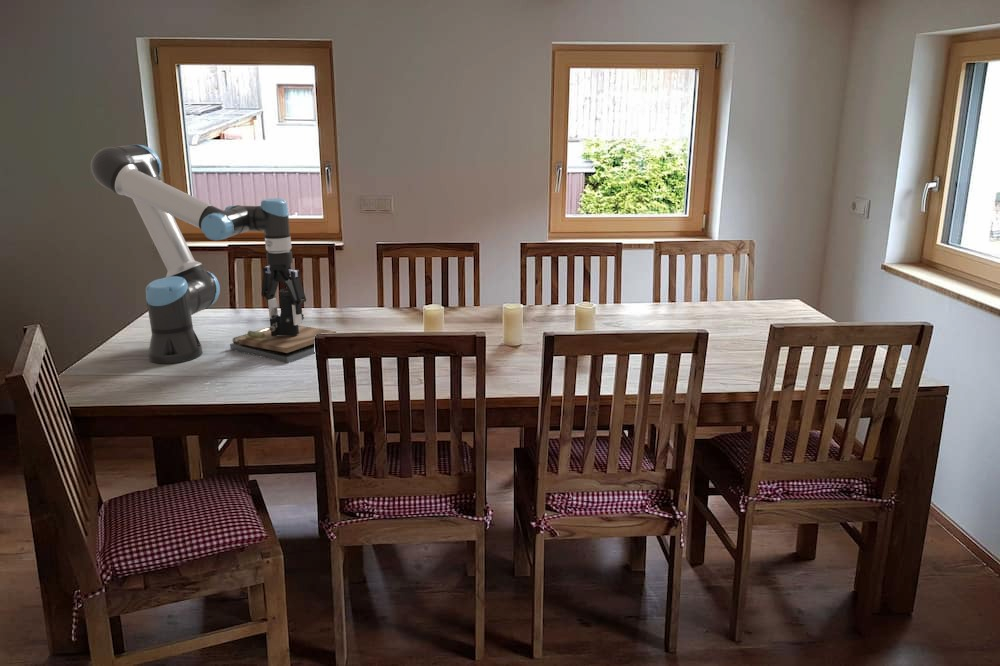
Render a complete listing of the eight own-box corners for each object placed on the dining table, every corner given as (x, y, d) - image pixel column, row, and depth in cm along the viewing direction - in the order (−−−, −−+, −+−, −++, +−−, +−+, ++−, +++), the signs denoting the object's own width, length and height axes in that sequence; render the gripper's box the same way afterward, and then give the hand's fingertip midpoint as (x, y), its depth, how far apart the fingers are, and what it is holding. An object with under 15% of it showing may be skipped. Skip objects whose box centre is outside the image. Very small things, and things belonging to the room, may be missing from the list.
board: (238, 343, 246) (237, 332, 245) (288, 328, 262) (287, 317, 261) (287, 353, 234) (285, 340, 233) (336, 335, 250) (335, 324, 249)
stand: (230, 349, 248) (229, 338, 247) (285, 331, 265) (284, 321, 264) (287, 363, 234) (286, 351, 232) (341, 343, 251) (340, 332, 250)
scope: (271, 287, 247) (303, 286, 247) (275, 330, 251) (307, 329, 251) (264, 293, 239) (298, 292, 239) (269, 337, 243) (302, 336, 243)
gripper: (244, 249, 243) (252, 319, 250) (295, 256, 231) (302, 330, 237) (263, 245, 249) (270, 314, 255) (314, 252, 237) (320, 324, 243)
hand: (285, 321), depth 246 cm, fingers closed on scope, 10 cm apart
